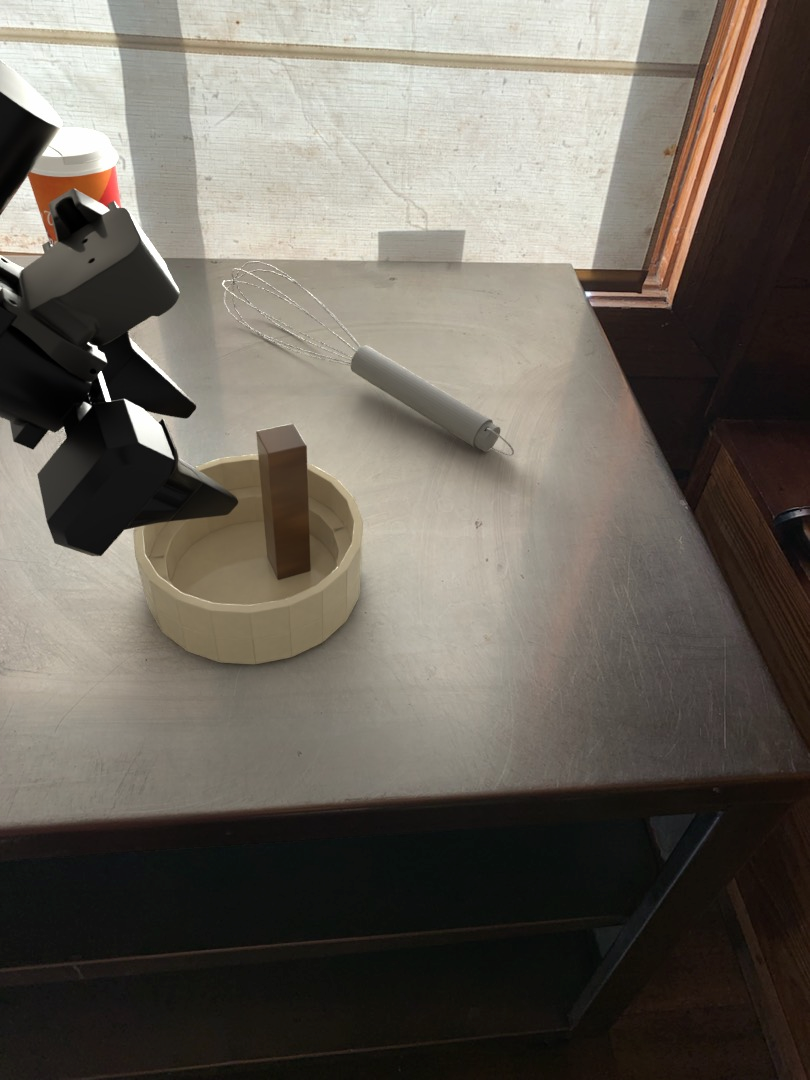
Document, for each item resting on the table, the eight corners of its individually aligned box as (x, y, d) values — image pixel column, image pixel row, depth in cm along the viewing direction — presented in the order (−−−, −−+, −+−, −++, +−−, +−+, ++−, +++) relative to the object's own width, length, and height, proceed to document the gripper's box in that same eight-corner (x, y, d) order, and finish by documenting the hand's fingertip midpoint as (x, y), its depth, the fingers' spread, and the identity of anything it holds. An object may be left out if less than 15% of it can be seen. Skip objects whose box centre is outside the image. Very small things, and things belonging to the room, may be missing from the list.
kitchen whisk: (490, 481, 63) (501, 416, 59) (211, 325, 77) (203, 263, 73) (532, 447, 66) (546, 383, 62) (258, 303, 81) (253, 243, 76)
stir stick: (277, 580, 54) (267, 454, 46) (266, 556, 55) (255, 430, 47) (311, 571, 54) (307, 445, 47) (299, 548, 56) (293, 422, 48)
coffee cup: (39, 305, 78) (-8, 144, 67) (99, 273, 83) (64, 118, 72) (105, 330, 75) (67, 167, 64) (162, 295, 80) (136, 138, 70)
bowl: (156, 689, 47) (140, 632, 44) (142, 528, 57) (128, 470, 53) (383, 644, 51) (387, 588, 47) (335, 499, 60) (334, 443, 56)
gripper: (66, 267, 26) (366, 454, 38) (11, 93, 38) (252, 276, 49) (-105, 499, 29) (221, 606, 41) (-107, 271, 41) (146, 405, 52)
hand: (211, 456), depth 46 cm, fingers open, 9 cm apart
